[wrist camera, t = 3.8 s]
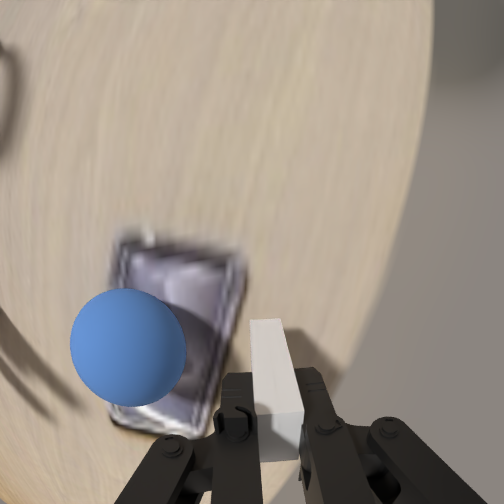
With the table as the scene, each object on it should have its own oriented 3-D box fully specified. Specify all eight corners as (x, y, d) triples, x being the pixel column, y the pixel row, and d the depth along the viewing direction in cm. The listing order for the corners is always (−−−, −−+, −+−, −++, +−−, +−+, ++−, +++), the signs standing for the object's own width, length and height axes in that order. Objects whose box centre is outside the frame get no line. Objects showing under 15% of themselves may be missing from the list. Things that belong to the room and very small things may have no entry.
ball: (189, 272, 16) (162, 325, 10) (198, 365, 17) (183, 437, 11) (91, 272, 15) (32, 315, 10) (109, 359, 17) (72, 419, 11)
